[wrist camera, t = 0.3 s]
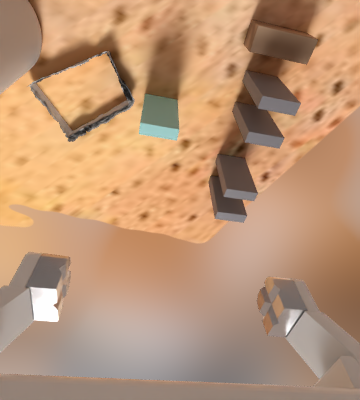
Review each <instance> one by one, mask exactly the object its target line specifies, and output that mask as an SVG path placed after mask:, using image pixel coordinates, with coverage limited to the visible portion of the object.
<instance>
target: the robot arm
mask: <svg viewBox="0 0 360 400" xmlns="http://www.w3.org/2000/svg"><path fill="white" fill-rule="evenodd" d="M69 266H70V257H67V256H60V255H52V254H44V253H43V254H42V253H34V252H28V253H27V254H26V255H25V257H24V259H23V260H22V262H21V264H20V266H19V268H18V269H17V271H16V273H15V275H14V277H13V279H12V280H11V282H10V284H9V286H3V287H1V288H0V353H1V352H2V351H3V350H4V349H5V348H6V347H7V346H8V345H9V344H10V343H11V342H12V341H14V340H15V339H16V338H17V337H18V336H19V335H20V334H21V333H22V332H23V331H24V330H25V329H26V328H27V327H28V326H29V325H30V324H32V323H33V320H41V321H58V319H59V316H60V313H61V310H62V307H63V298H64V297H65V296H66V295H67V292H68V288H69V283H70V271H69ZM264 284H265V287H263V288H262V289H260V291H259V293H258V298H257V304H258V309H259V311H260V313H261V314H262V315H263V316H264V318H263V325H264V328H265V331H266V334H267V336H276V337H286V339H287V340H288V342H289V343H290V344H291V345H292V346H293V348H294V349H295V350H296V351H297V353H298V354H299V355H300V356H301V357H302V359H303V360H304V361H305V362H306V363H307V365H308V366H309V367H310V368H311V370H312V371H313V372H314V373H315V374H316V375H317V377H318V378H319V381H318V382H317V383H316V384H315V385H314V386H313V387H311V386H286V385H285V386H284V385H262V384H238V383H213V382H188V381H164V380H163V381H161V380H139V379H114V378H89V377H66V376H42V375H18V374H0V400H360V343H359V342H357V341H356V340H355V339H354V338H353V337H352V336H350V335H349V334H348V333H347V332H346V331H344V330H343V329H342V328H341V327H340V326H339V325H337V324H336V323H335V322H334V321H333V320H332V319H330V318H329V317H328V316H327V315H326V314H324V313H323V312H320V311H319V309H318V308H317V305H316V303H315V301H314V300H313V298H312V296H311V294H310V292H309V290H308V288H307V286H306V284H305V282H304V281H302V280H298V279H289V278H278V277H268V278H266V280H265V282H264Z"/></svg>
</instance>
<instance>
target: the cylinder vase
mask: <svg viewBox="0 0 360 400" xmlns="http://www.w3.org/2000/svg"><path fill="white" fill-rule="evenodd" d="M41 47H42V34H41V28H40V24H39V21H38V18H37V16H36V14H35V11H34V9H33V8H32V6H31V4H30V3H29V1H28V0H0V94H1V93H3V92H4V91H5V90H6V89H7V88H8V87H10V86H11V85H12V84H13V83H14V82H16V81H17V80H18V79H19V78H20V77H22V76H23V75H24V74H25V73H26V72H28V71H29V70H30V69H31V68H32V67H33V66H34V65H35V63H36V62H37V60H38V58H39V56H40V52H41Z"/></svg>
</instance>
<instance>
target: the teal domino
mask: <svg viewBox="0 0 360 400" xmlns="http://www.w3.org/2000/svg"><path fill="white" fill-rule="evenodd" d="M178 133H179V118H178V101H177V100H176V99H171V98H166V97H160V96H155V95H150V94H145V98H144V104H143V110H142V116H141V122H140V130H139V134H141V135H147V136H153V137H159V138H165V139H171V140H177V137H178Z"/></svg>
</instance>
